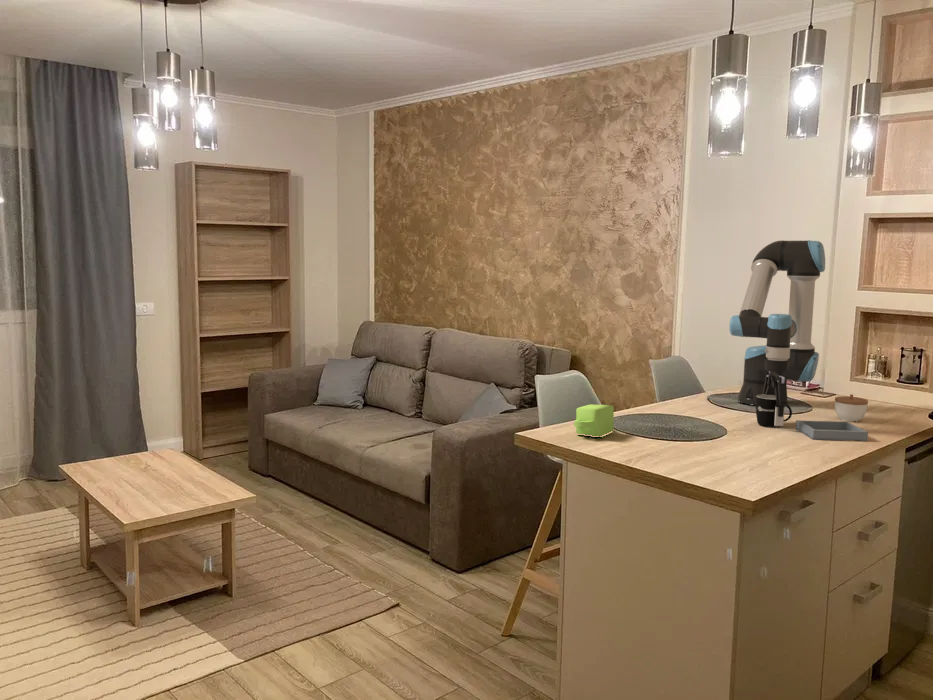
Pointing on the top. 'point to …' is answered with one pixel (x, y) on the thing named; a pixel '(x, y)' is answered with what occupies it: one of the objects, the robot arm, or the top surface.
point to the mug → (767, 410)
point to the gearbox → (594, 419)
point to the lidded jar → (850, 408)
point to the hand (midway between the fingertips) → (772, 421)
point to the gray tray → (831, 430)
